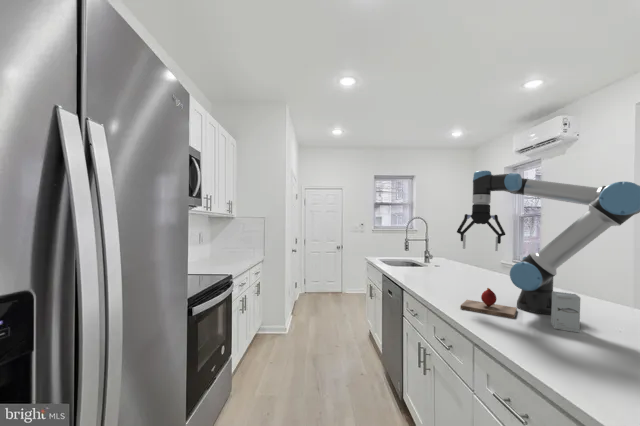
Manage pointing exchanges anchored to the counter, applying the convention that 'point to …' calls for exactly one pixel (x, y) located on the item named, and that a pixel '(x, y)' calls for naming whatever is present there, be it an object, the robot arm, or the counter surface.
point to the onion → (488, 297)
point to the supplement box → (565, 311)
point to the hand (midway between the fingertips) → (479, 249)
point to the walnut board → (489, 308)
